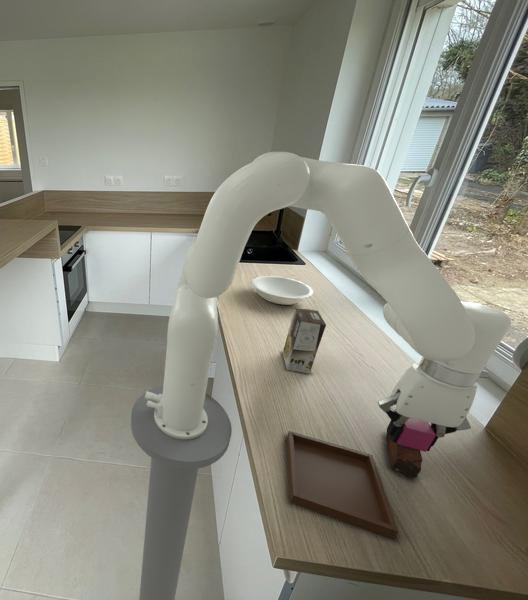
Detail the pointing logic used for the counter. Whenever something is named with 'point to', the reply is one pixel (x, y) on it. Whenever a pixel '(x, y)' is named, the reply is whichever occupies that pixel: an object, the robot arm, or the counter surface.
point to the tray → (338, 484)
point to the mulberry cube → (416, 434)
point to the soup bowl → (281, 289)
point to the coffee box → (303, 340)
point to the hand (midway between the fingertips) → (407, 440)
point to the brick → (404, 458)
